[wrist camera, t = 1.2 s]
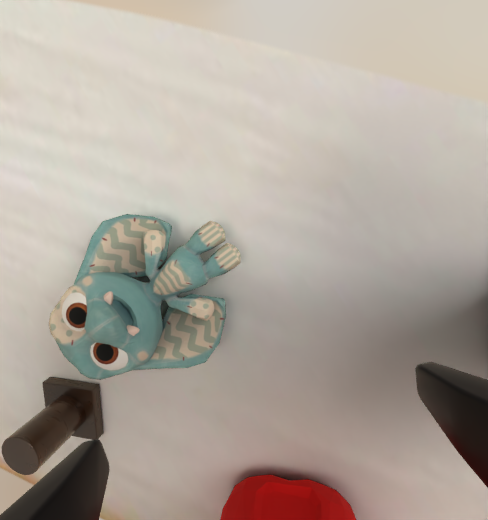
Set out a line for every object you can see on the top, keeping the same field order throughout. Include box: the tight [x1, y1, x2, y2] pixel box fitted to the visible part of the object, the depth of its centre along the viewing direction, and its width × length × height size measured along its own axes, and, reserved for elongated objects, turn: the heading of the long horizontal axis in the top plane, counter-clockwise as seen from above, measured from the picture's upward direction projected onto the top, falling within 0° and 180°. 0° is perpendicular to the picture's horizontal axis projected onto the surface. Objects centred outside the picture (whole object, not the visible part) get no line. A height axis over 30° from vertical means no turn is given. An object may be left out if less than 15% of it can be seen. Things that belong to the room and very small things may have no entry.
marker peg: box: [2, 377, 103, 475], centre depth 21 cm, size 4×4×5 cm
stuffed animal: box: [49, 214, 240, 380], centre depth 17 cm, size 11×7×12 cm
